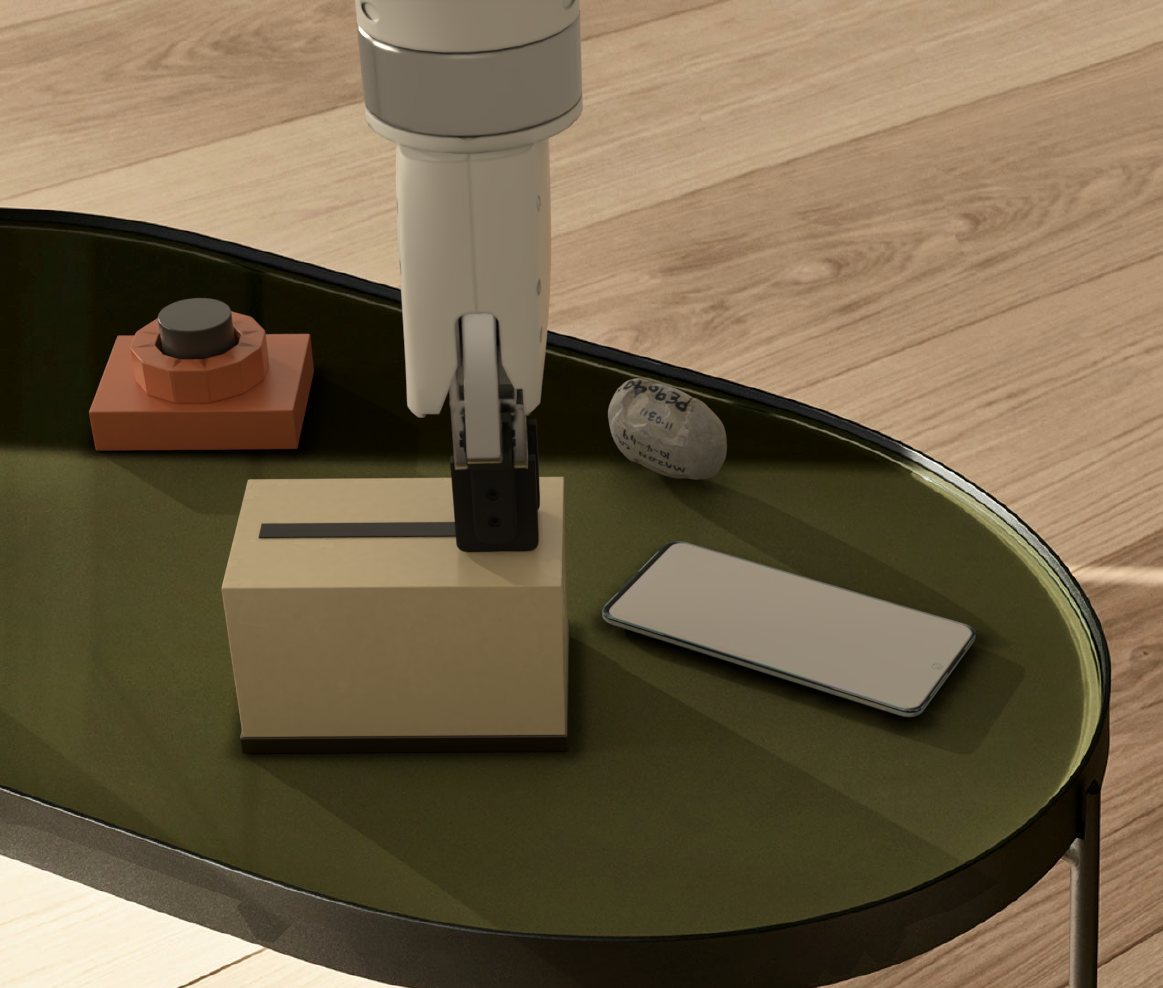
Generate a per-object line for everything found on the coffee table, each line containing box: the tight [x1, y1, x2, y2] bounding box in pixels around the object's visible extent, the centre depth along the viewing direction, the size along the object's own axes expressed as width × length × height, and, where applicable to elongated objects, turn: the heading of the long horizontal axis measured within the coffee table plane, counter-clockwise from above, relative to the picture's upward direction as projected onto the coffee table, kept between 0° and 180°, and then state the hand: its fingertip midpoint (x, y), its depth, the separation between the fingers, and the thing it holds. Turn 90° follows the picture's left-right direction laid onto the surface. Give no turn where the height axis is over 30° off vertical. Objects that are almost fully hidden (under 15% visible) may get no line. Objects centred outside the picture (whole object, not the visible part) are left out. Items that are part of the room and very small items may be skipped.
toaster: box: [221, 476, 571, 754], centre depth 86 cm, size 13×8×8 cm, turn 90°
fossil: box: [607, 377, 728, 481], centre depth 100 cm, size 6×3×5 cm, turn 59°
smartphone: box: [601, 540, 977, 718], centre depth 91 cm, size 7×1×15 cm
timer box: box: [88, 310, 315, 452], centre depth 106 cm, size 10×8×4 cm
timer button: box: [157, 297, 235, 359], centre depth 104 cm, size 4×4×2 cm
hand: (499, 526), depth 83 cm, fingers closed
